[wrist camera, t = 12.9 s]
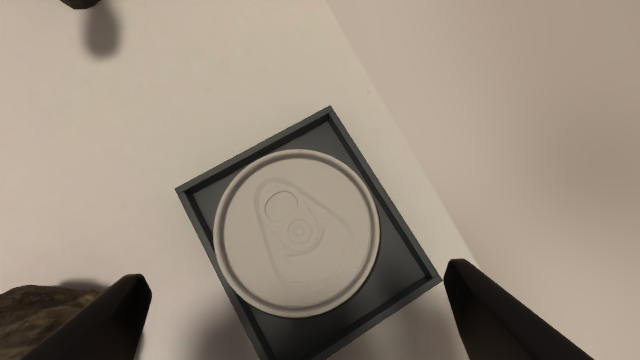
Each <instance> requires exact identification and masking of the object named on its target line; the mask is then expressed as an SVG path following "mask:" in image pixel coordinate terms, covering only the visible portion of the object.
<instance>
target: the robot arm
mask: <svg viewBox="0 0 640 360" xmlns="http://www.w3.org/2000/svg"><path fill="white" fill-rule="evenodd" d="M444 286H445V289H446V292H447V295H448V299H449V302H450V305H451V309H452V312H453V315H454V318H455V322H456V325H457V328H458V331H459V334H460V337H461V340H462V342H463V345H464V347H465V349H466V352H467V354H468V357H469V359H470V360H594V359H593V358H592V357H590V356H589V355H587V354H586V353H585V352H584V351H583V350H581V349H580V348H579V347H577V346H576V345H575V344H574V343H572V342H571V341H570V340H568V339H567V338H566V337H565V336H563V335H562V334H561V333H559V332H558V331H557V330H556V329H554V328H553V327H552V326H550V325H549V324H548V323H547V322H545V321H544V320H543V319H541V318H540V317H539V316H538V315H536V314H535V313H534V312H532V311H531V310H530V309H529V308H527V307H526V306H525V305H524V304H522V303H521V302H520V301H518V300H517V299H516V298H515V297H513V296H512V295H511V294H509V293H508V292H507V291H505V290H504V289H503V288H502V287H500V286H499V285H498V284H497V283H495V282H494V281H493V280H492V279H490V278H489V277H488V276H486V275H485V274H484V273H483V272H481V271H480V270H479V269H477V268H476V267H475V266H474V265H472V264H471V263H470V262H468V261H467V260H465V259H451V260H450V261H449V263H448V266H447V269H446V272H445V275H444ZM151 299H152V292H151V289H150V288H149V286H148V284H147V282H146V280H145V278H144V276H143V275H141V274H128V275H125V276H123V277H122V278H121V279H119V280H118V281H117V282H116V283H114V284H113V285H112V286H111V287H109V288H108V289H107V290H106V291H104V292H103V293H102V294H101V295H99V296H98V297H97V298H96V299H94V300H93V301H92V302H91V303H89V304H88V305H87V306H86V307H84V308H83V309H82V310H81V311H79V312H78V313H77V314H76V315H74V316H73V317H72V318H71V319H69V320H68V321H67V322H66V323H64V324H63V325H62V326H61V327H59V328H58V329H57V330H56V331H54V332H53V333H52V334H51V335H49V336H48V337H47V338H46V339H44V340H43V341H42V342H41V343H39V344H38V345H37V346H36V347H34V348H33V349H32V350H30V351H29V352H28V353H27V354H25V355H24V356H23V357H22V358H20V359H19V360H133V359H134V356H135V354H136V351H137V348H138V344H139V341H140V337H141V334H142V330H143V327H144V324H145V320H146V317H147V313H148V310H149V306H150V303H151Z"/></svg>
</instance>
